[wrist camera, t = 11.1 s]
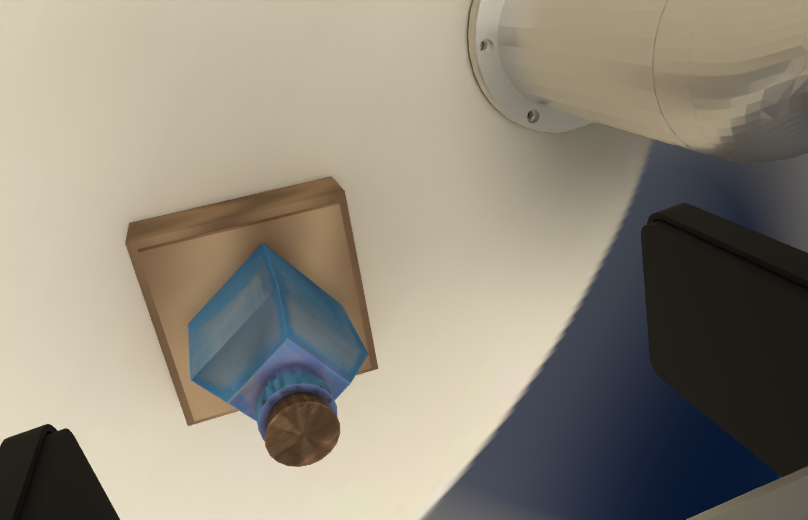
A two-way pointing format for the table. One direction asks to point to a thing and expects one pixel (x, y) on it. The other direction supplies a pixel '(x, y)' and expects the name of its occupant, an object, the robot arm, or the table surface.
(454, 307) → the table surface
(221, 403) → the pedestal
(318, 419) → the perfume bottle
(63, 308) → the table surface
